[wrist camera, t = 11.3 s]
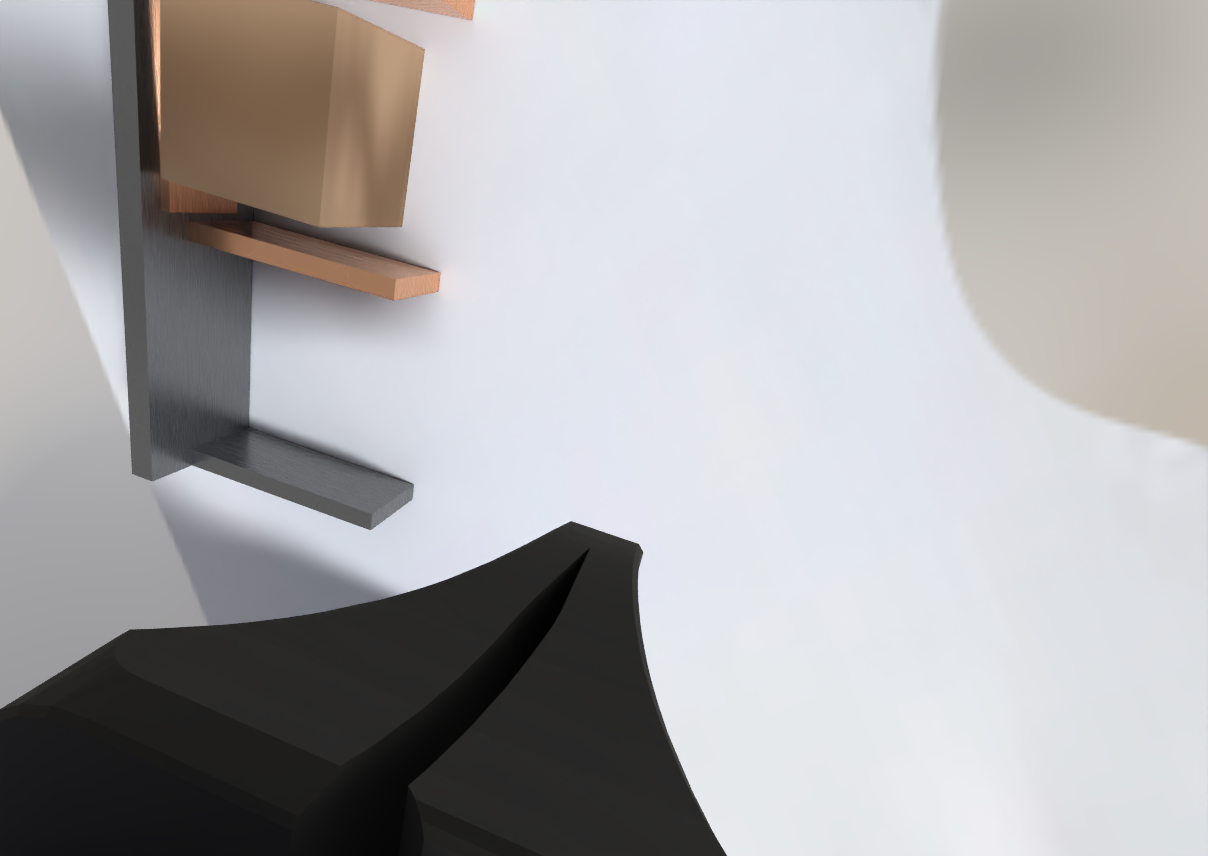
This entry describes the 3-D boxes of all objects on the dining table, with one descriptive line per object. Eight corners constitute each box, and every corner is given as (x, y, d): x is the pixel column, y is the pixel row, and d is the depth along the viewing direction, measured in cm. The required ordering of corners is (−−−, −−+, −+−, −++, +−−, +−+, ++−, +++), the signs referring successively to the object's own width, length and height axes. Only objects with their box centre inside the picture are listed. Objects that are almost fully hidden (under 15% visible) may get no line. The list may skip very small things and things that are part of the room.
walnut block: (404, 226, 20) (319, 227, 17) (270, 186, 21) (160, 178, 17) (427, 50, 18) (338, 8, 15) (279, 13, 19) (159, -36, 16)
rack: (411, 499, 23) (340, 552, 19) (230, 436, 24) (132, 473, 21) (522, -384, 15) (434, -584, 11) (239, -405, 16) (77, -589, 12)
